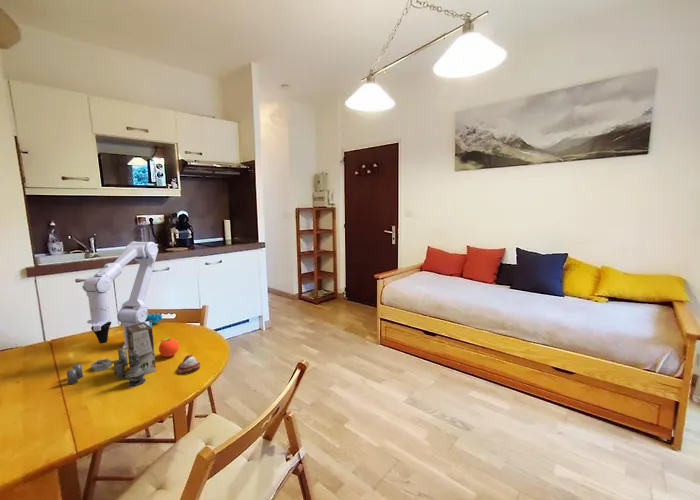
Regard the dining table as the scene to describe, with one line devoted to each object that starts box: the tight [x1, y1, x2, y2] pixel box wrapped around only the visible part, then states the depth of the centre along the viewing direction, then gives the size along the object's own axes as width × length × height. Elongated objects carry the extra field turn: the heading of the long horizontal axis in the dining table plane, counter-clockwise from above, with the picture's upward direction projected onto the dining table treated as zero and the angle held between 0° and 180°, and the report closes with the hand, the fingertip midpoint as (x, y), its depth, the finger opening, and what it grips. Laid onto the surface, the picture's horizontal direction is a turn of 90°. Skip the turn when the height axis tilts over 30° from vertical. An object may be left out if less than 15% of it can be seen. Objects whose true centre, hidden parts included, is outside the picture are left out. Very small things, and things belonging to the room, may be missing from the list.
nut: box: [90, 358, 113, 373], centre depth 119 cm, size 6×5×2 cm
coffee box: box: [125, 322, 157, 375], centre depth 117 cm, size 9×6×16 cm
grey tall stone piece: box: [125, 349, 147, 388], centre depth 109 cm, size 6×6×12 cm
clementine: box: [158, 337, 180, 358], centre depth 128 cm, size 8×7×7 cm
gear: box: [145, 312, 163, 329], centre depth 157 cm, size 11×6×10 cm
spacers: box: [66, 347, 129, 386], centre depth 116 cm, size 16×17×4 cm
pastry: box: [176, 354, 201, 375], centre depth 118 cm, size 8×8×5 cm
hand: (103, 342), depth 125 cm, fingers closed
